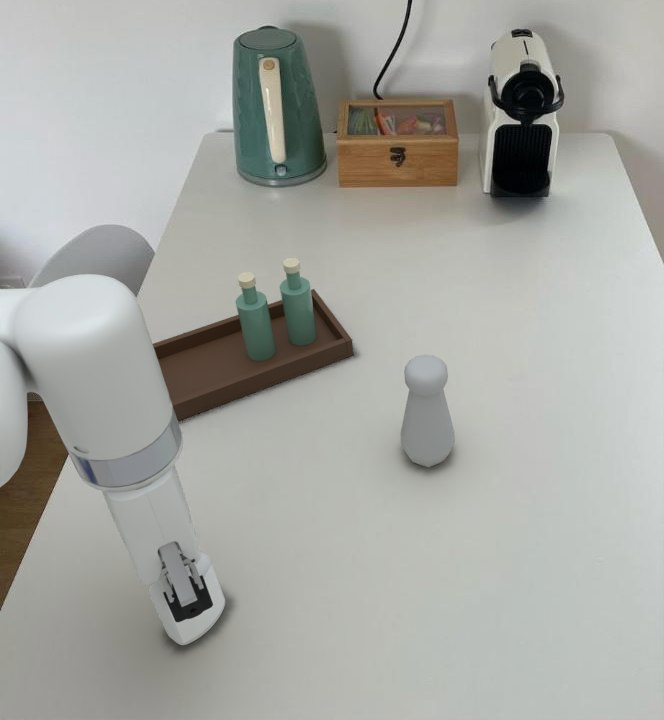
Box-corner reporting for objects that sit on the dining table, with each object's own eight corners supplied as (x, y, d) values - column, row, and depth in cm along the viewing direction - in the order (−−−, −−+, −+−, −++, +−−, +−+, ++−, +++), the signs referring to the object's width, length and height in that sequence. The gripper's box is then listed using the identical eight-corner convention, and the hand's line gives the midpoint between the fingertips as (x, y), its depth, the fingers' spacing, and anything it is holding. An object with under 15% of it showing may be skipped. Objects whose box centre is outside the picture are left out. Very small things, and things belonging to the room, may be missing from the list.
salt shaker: (430, 424, 91) (429, 337, 82) (465, 454, 87) (468, 366, 78) (390, 450, 88) (384, 363, 79) (424, 482, 85) (422, 394, 76)
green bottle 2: (294, 349, 100) (282, 275, 92) (284, 333, 102) (270, 258, 94) (321, 339, 101) (311, 265, 93) (310, 323, 103) (299, 249, 96)
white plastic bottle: (234, 627, 73) (207, 551, 65) (172, 652, 72) (137, 577, 63) (221, 588, 76) (195, 511, 68) (162, 611, 75) (127, 535, 66)
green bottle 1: (252, 364, 98) (236, 290, 90) (242, 347, 100) (225, 273, 93) (280, 354, 99) (266, 280, 91) (269, 338, 102) (255, 263, 94)
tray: (166, 425, 92) (160, 409, 90) (140, 365, 100) (134, 349, 98) (353, 355, 100) (352, 339, 98) (316, 304, 107) (314, 288, 105)
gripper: (48, 381, 62) (113, 522, 74) (98, 551, 50) (166, 684, 62) (145, 348, 64) (193, 489, 76) (215, 502, 53) (258, 640, 65)
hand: (180, 576), depth 69 cm, fingers open, 6 cm apart
